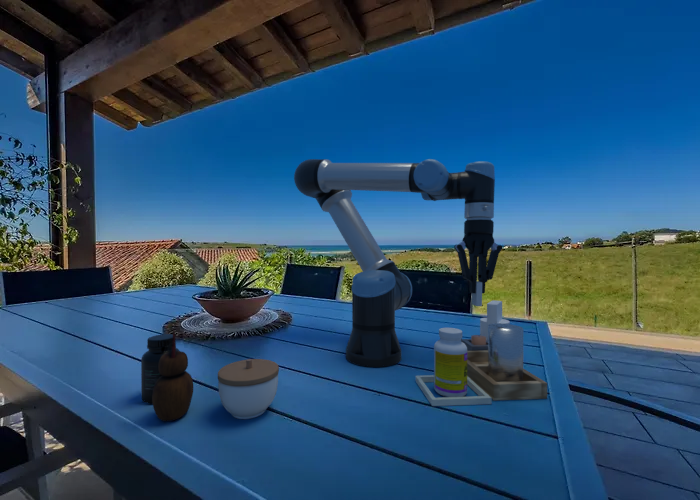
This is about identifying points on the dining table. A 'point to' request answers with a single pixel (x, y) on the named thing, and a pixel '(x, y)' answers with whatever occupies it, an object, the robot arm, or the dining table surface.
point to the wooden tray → (503, 390)
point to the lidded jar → (248, 387)
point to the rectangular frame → (448, 401)
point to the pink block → (478, 340)
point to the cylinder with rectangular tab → (492, 317)
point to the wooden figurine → (172, 386)
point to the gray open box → (474, 347)
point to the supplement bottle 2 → (450, 363)
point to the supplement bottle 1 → (153, 363)
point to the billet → (505, 352)
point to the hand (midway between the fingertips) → (476, 305)
